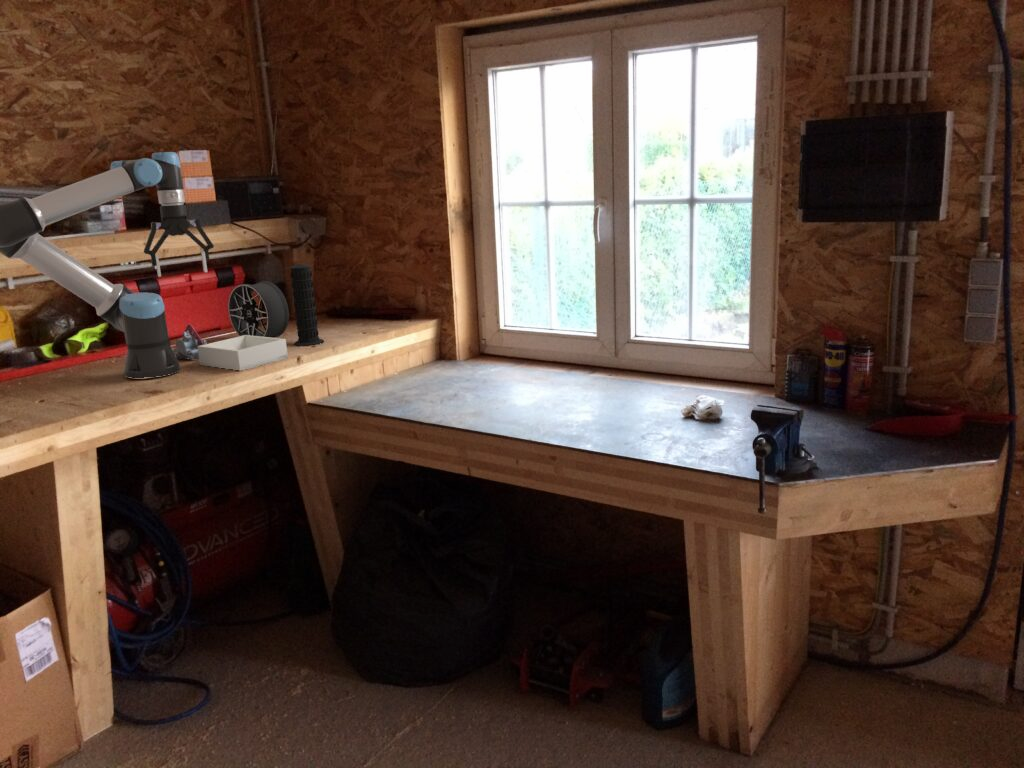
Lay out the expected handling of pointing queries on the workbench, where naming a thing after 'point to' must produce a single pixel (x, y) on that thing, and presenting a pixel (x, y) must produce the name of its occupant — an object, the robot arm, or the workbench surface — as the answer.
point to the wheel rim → (258, 310)
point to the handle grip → (304, 305)
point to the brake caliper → (188, 344)
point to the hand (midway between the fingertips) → (182, 274)
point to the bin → (242, 352)
